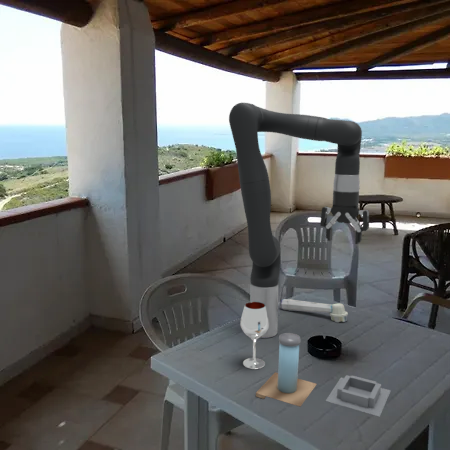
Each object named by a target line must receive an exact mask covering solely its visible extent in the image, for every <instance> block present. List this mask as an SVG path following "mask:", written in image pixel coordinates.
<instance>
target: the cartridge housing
mask: <svg viewBox="0 0 450 450" xmlns="http://www.w3.org/2000/svg"><path fill="white" fill-rule="evenodd" d="M391 392H392V390H391V389H388V388H387V389H386V388H382V383H378V381H375V380H371V379H367V378H363V377H359V376H356V375H348V374H346V375H345V376H344V377H340V378H339V380H338V381H337V382H336V384H335V386H334V387H333V389H332V390H331V392H330V393H329V395H328V396H327V398H326V399H325V402H328V403H331V404H335V405H338V406H341V407H344V408H348V409H352V410H355V411H358V412H362V413H366V414H369V415H372V416H376V417H379V418H380V417H381V414H382V412H383V410H384V408H385V406H386V403H387V400H388V398H389V396H390V394H391Z"/></svg>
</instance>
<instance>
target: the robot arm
mask: <svg viewBox="0 0 450 450" xmlns="http://www.w3.org/2000/svg"><path fill="white" fill-rule="evenodd" d="M228 122H229V127H230V131H231V135H232V138H233V139H232V140H233V142H234V147H235V151H236V161H237V169H238V177H239V185H240V192H241V198H242V204H243V209H244V215H245V219H246V224H247V235H248V236H247V237H248V254H249V258H250V259H251V261H252V266H251V272H250V273H251V274H250V284H249V285H250V287H249V289H250V290H249V291H250V292H249V293H250V295H249V296H250V299H249V300H250V301H249V302H261V303H263V304H265V307H266V311H267V315H268V319H269V328H268V330H267V331H266V333H265V334H263V335H262V336H261V337H260V338H263V339H264V338H265V339H266V338H267V339H268V338H272V337H276V335H277V334H278V329H279V328H278V322H279V321H278V318H279V317H278V316H279V315H278V312H279V283H280V282H279V278H280V273H281V244H280V241H279V239H278V238H277V237H275V236H274V235H273V231H272V227H271V226H272V224H271V209H272V208H271V207H272V200H271V199H272V192H271V184H270V177H269V173H268V169H267V166H266V163H265V161H264V158H263V155H262V153H261V149H260V145H259V137H258V135H259V133H274V134H282V135H285V136H289V137H294V138H296V139H303V140H309V141H310V140H311V141H316V142H326V143H329V144H330V143H331V144H335V145H337V149H336V150H337V154H336V158H335V163H334V167H335V168H334V177H333V188H332V189H333V191H332V207H328V206H323V207H322V208H321V213H320V214H321V215H320V227H324V228H325V239H326V240H327V241H329V242H331V241H332V240H333V226H334V225H335V224H336V223H340V224H342V223H344V224H351V226H353V227H354V229H355V231H356V232H355V240H354V244H355V245H359V244H360V243H361V242H362V241H363V240H362V239H363V238H362V237H363V232H366V231H367V230H369V229H370V210H368V209H365V210H363V209H362V210H360V209H359V202H360V201H359V199H360V189H361V188H360V187H361V185H360V164H361V163H360V162H361V161H360V160H361V158H360V153H361V147H362V134H363V130H362V127H361V126H360V124H358V123H357V122H356V121H353V120H343V119H342V120H341V119H332V118H326V117H322V116H318V115H317V116H315V115H310V114H296V113H284V112H277V111H273V110H269V109H266V108H262V107H260V106H257V105H255V104H253V103H249V102H239V103H236V104H235V105H234V106H233V107H232V108H231V110H230V112H229V115H228ZM330 213H331V214H332V216H333V217H332V218H331V220H329V222H328V215H329V214H330ZM359 215H360V217H361V218H362V225H361V224H360V221H359V220H358V218H357V217H358V216H359Z"/></svg>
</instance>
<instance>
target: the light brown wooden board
mask: <svg viewBox="0 0 450 450" xmlns="http://www.w3.org/2000/svg"><path fill="white" fill-rule="evenodd" d="M277 386H278V372H276V371H275V372H274V373H273V374H272V375H271V376H270V377H269V378H268V379H267V380H266V381H265V383H263V385H261V387H260V388H259V389H258V390H257V391H256V392H255V397H257V398H259V399H264V400H265V399H266V397H268V398H270V399H274V400H277V401H280V402H284V403H286V404H291V405H292V406H296V407H300V408H301V407H302V406H303V404H304V403H305V401H306V400H307V398H308V397H309V396H310V395H311V393H312V391H313V390H314V389H315V387H316V386H317V383H315V382H312V381H308V380H304V379H300V378H299V377H298V378H297V390H296V391H295V392H293V393H284V392H281V391H279V390H278V388H277Z"/></svg>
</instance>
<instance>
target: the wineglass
mask: <svg viewBox="0 0 450 450" xmlns="http://www.w3.org/2000/svg"><path fill="white" fill-rule="evenodd" d="M239 323H240V328H241V330H242V332H243V333H244V334H245V335H246V336H248V338H250V339H251V340H252V357H249V358H246V359H244V360H243V362H242V365H243V366H244V367H245V368H247V369H251V370H258V369H262V368H264V367H265V366H266V361H264V360H263V359H261V358H258V357H256V355H257V354H256V353H257V352H256V351H257V349H256V348H257V346H256V345H257V340H258V339H260V338H261V336H262V335H263V334H265V333H266V331H267V330H268V328H269V319H268V315H267V311H266V307H265V304H263V303H261V302H250V301H248V302H247V303H245V304H244V307H243V311H242V314H241V318H240V322H239Z"/></svg>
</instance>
